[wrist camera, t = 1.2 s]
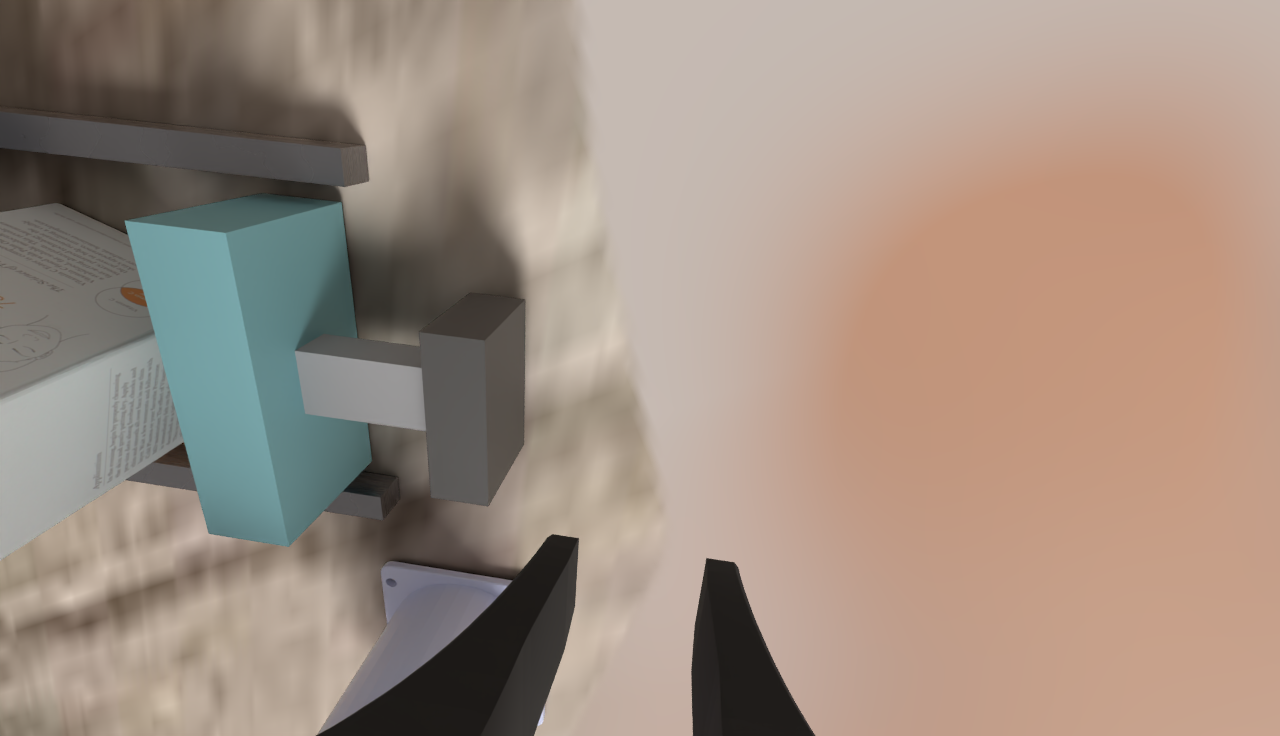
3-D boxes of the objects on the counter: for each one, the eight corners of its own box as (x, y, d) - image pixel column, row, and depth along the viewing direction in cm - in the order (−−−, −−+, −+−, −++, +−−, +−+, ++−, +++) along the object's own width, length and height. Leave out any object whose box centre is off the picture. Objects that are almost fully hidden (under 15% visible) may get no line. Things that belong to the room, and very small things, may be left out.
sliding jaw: (529, 484, 25) (482, 578, 20) (306, 451, 26) (209, 533, 21) (532, 224, 21) (472, 262, 16) (262, 193, 22) (124, 220, 17)
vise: (400, 499, 27) (318, 600, 21) (15, 440, 28) (-153, 520, 23) (365, 145, 21) (237, 161, 15) (-126, 92, 22) (-404, 89, 17)
